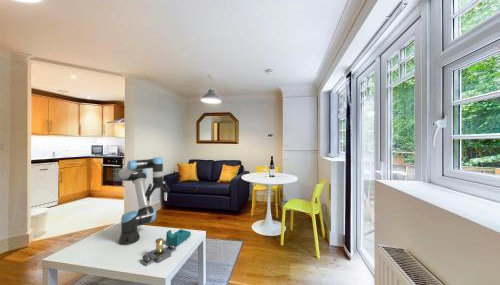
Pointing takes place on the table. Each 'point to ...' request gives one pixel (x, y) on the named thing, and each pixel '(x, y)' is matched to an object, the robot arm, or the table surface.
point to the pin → (159, 246)
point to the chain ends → (154, 257)
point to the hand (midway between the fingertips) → (157, 202)
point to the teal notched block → (177, 237)
